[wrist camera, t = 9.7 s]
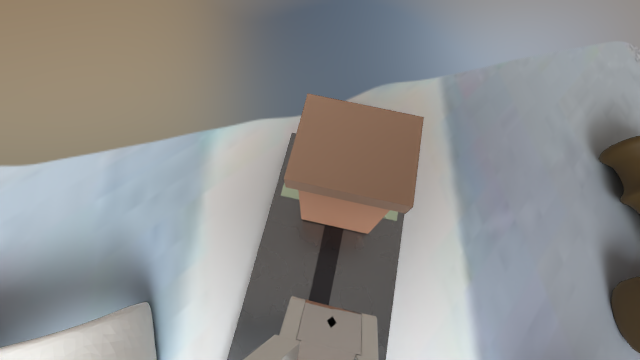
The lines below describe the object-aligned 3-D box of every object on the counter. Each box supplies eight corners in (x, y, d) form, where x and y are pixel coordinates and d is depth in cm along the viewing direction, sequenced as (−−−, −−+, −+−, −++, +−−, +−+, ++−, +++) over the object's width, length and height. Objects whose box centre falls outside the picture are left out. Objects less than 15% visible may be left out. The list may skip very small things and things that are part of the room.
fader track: (350, 566, 18) (359, 624, 15) (187, 521, 19) (161, 568, 15) (404, 167, 27) (417, 149, 24) (293, 143, 28) (290, 123, 24)
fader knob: (373, 240, 23) (412, 206, 14) (293, 222, 23) (283, 178, 14) (383, 180, 24) (423, 117, 16) (308, 164, 25) (307, 93, 16)
